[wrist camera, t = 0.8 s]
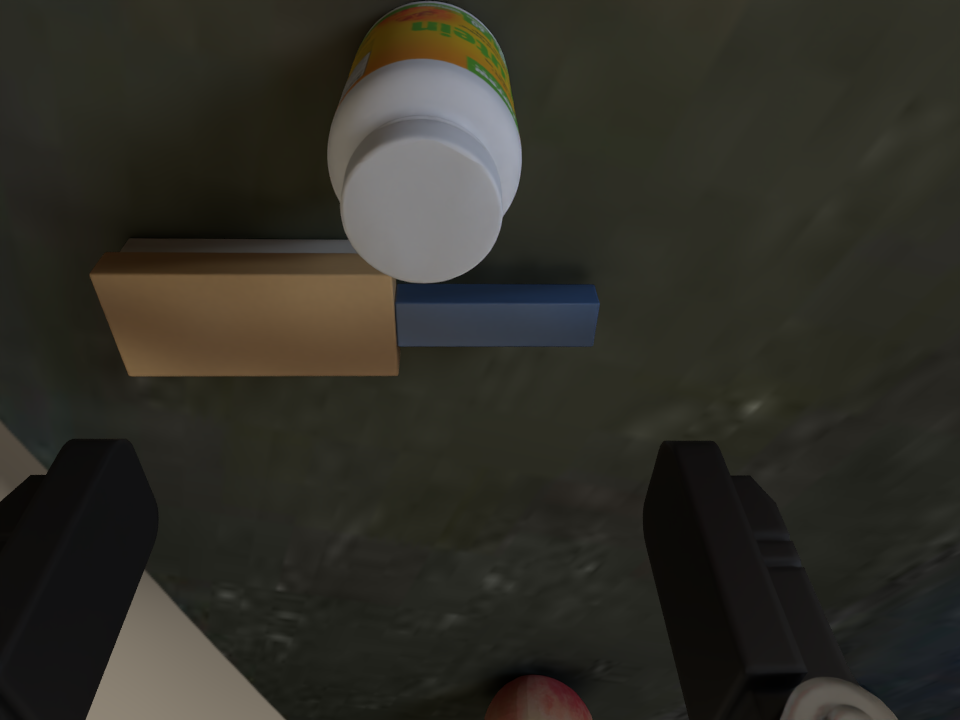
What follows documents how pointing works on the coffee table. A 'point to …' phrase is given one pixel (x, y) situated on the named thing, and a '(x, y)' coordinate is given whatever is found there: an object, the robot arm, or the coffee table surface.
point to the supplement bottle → (425, 144)
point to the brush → (309, 310)
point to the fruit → (537, 701)
